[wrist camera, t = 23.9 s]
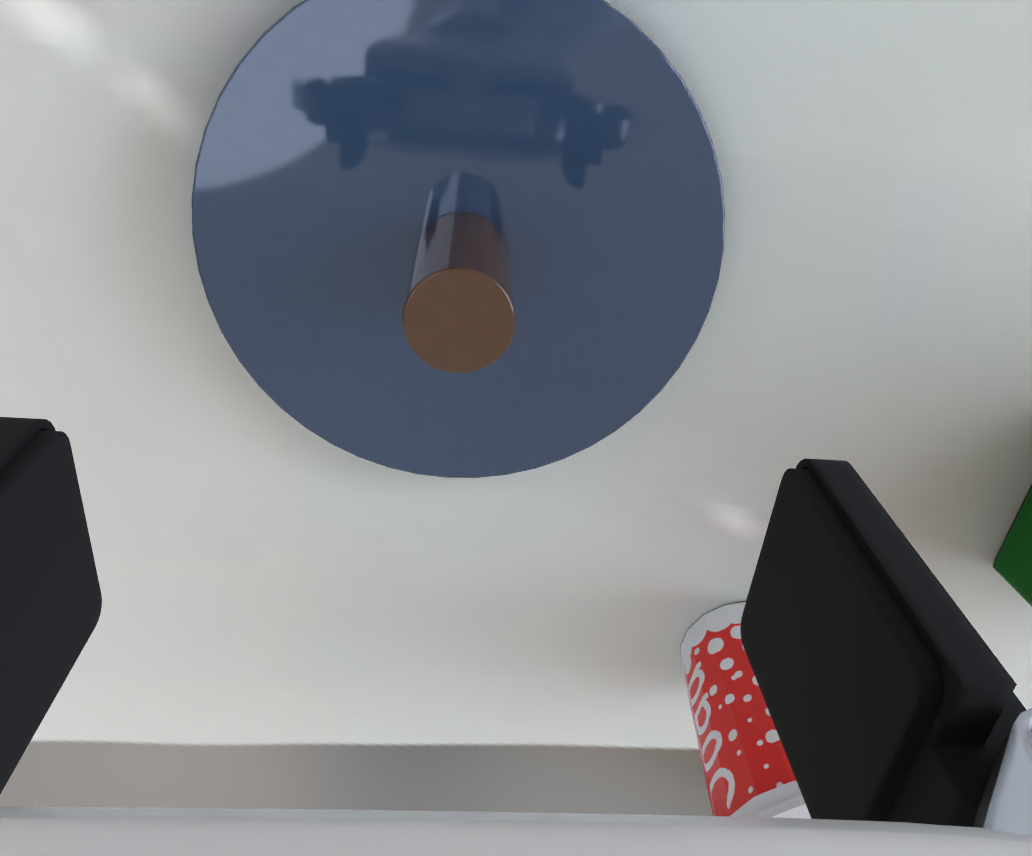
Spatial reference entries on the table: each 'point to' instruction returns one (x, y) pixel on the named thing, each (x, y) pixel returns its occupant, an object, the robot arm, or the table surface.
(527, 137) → the crock lid
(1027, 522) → the milk carton
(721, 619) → the beverage cup
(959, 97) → the table surface
